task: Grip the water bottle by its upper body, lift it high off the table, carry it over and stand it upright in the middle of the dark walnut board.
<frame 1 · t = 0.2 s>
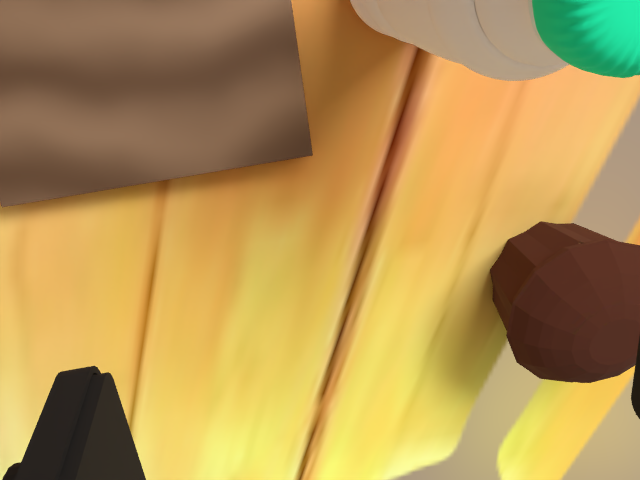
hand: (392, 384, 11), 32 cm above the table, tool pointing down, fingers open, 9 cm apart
muffin: (542, 270, 48), on the table
walnut board: (135, 66, 38), on the table
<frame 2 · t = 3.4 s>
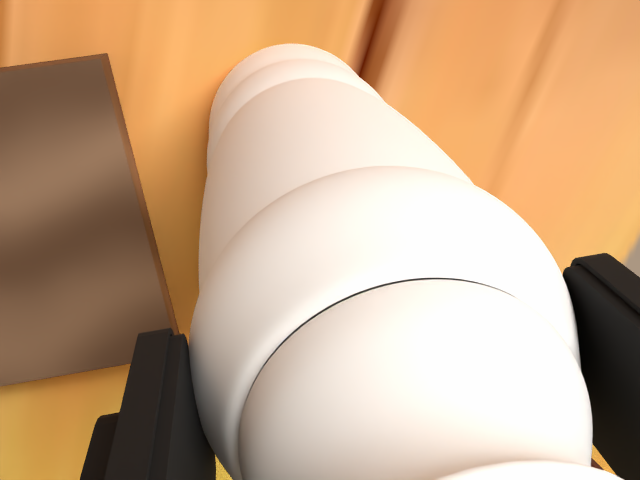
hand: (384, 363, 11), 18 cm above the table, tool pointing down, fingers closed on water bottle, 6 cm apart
water bottle: (289, 122, 27), on the table, touching gripper
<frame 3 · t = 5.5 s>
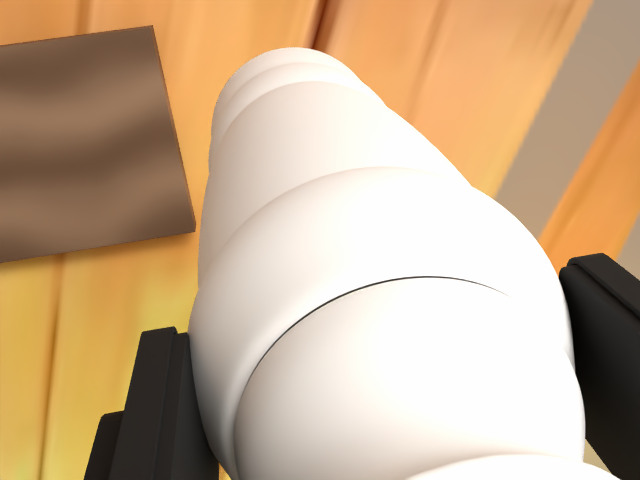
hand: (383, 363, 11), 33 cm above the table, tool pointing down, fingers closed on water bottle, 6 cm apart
water bottle: (292, 126, 27), point 15 cm above the table, touching gripper
walnut board: (28, 153, 41), on the table
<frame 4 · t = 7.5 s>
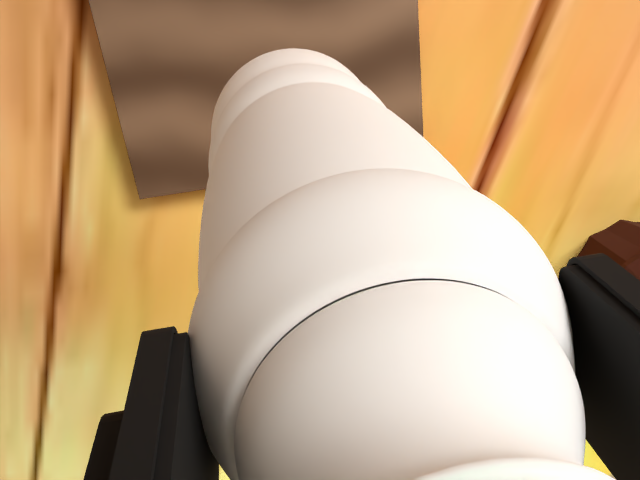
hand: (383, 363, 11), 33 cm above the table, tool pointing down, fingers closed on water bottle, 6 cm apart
muffin: (618, 265, 52), on the table
water bottle: (291, 126, 27), point 15 cm above the table, touching gripper
walnut board: (268, 71, 41), on the table
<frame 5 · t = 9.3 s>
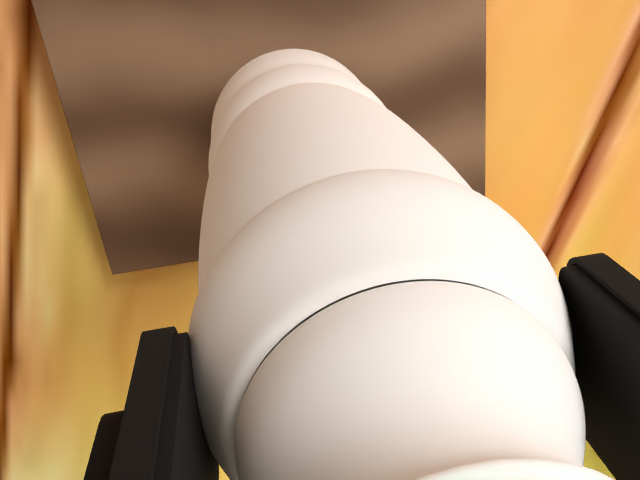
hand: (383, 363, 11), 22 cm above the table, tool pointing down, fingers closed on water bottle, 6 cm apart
water bottle: (291, 127, 27), point 4 cm above the table, touching gripper
walnut board: (282, 106, 31), on the table
when the fingers open (20 cm above the table, at t = 10.6 s): water bottle drops 1 cm, resting on walnut board.
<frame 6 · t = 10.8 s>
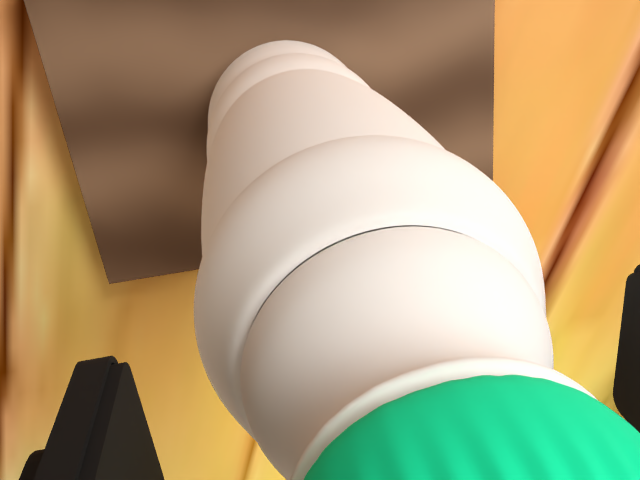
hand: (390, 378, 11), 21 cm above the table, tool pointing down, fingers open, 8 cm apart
water bottle: (285, 116, 28), point 1 cm above the table, touching walnut board
walnut board: (284, 110, 30), on the table
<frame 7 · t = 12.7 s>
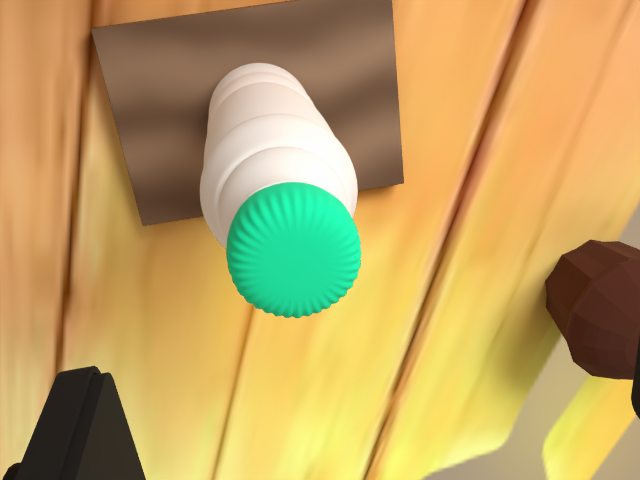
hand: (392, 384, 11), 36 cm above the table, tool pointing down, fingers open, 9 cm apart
muffin: (589, 282, 55), on the table
water bottle: (259, 112, 43), point 1 cm above the table, touching walnut board
walnut board: (259, 108, 45), on the table
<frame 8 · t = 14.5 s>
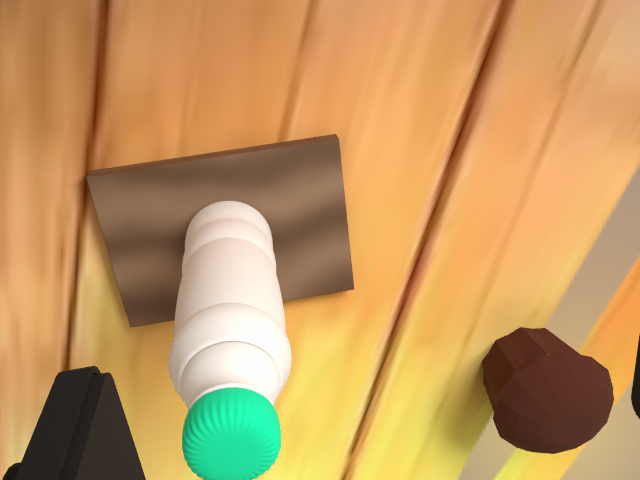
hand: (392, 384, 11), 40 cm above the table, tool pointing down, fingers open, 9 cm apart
muffin: (521, 361, 63), on the table
water bottle: (229, 236, 51), point 1 cm above the table, touching walnut board
walnut board: (230, 230, 52), on the table
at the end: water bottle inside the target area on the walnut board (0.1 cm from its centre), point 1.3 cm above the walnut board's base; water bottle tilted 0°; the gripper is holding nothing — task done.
